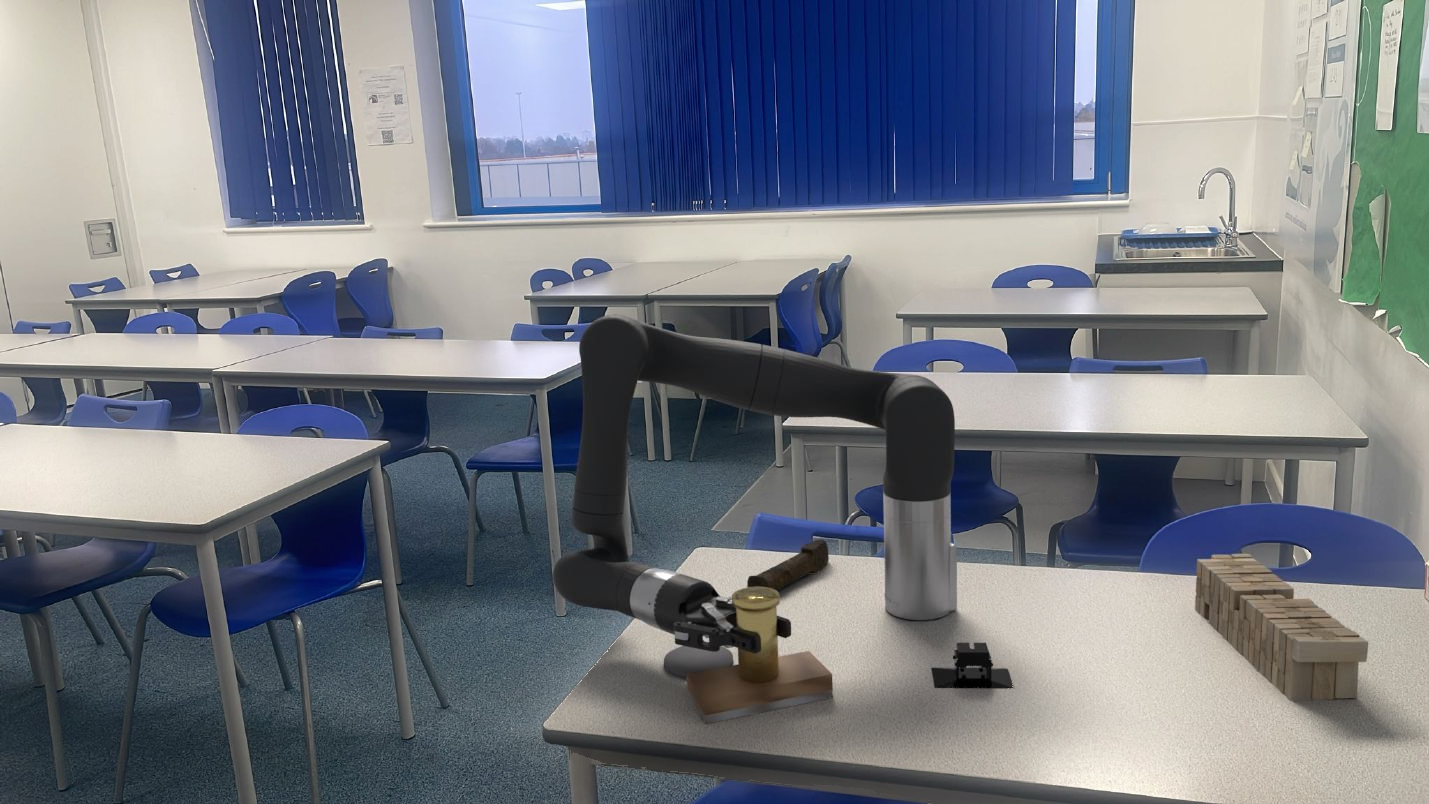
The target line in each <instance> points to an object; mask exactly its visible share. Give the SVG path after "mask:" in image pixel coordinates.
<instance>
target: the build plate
mask: <svg viewBox="0 0 1429 804" xmlns="http://www.w3.org/2000/svg"><path fill="white" fill-rule="evenodd" d="M955 647H956V649H953V655H952V660H953V667H935V666H934V667H931V669H930V670H931V675H932V681H933V687H934V689H988V690H989V689H1002V690H1004V689H1005V690H1007V689H1008V688H1009V689H1010V690H1011V688H1013V687H1012V686H1014V683H1012V682H1013V680H1012V676H1011V674H1010V671H1009V668H1007V667H1005V668H1004V667H1002V668H1000V667H994V663H993V662H992V656H991V654H990V650H989V647H988V643H987V642H973V648H971V645H970V642H966V641H965V642H963V641H962V642H960V641H959V642H958V641H957V642H956V646H955ZM1012 684H1013V685H1012ZM1014 687H1015V686H1014ZM1009 689H1008V690H1009Z"/></svg>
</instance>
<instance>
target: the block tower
mask: <svg viewBox="0 0 1429 804" xmlns="http://www.w3.org/2000/svg"><path fill="white" fill-rule="evenodd" d="M1294 594H1295V589H1294V587H1293V586H1291V585H1290V584H1288V583H1287V582H1286V581H1284V580H1283V579H1281V578H1280V577H1279V576H1278V575H1276V574H1275V573H1274V574H1273V571H1272V570H1271V569H1270V568H1268V567H1266V566H1265V565H1263V564H1262V563H1261V562H1260V561H1258V560H1256V559H1255V558H1254V557H1253V556H1252V555H1251V554H1250V553H1232V554H1211V556H1210V558H1202V559H1201V558H1197V560H1196V580H1195V597H1194V598H1195V601H1194V604H1195V605H1194V611H1195V612H1197V614H1198V615H1200V616H1201V617H1202V618H1204V619H1208V624H1209V625H1210V626H1211V627H1212V628H1213V630H1215V631H1216V632H1217V633H1218V634H1220V635H1221V636H1222V638H1223V639H1224V640H1226V641H1227V642H1228V644H1229V645H1231V647H1232V648H1233V649H1234V650H1235V651H1237V653H1238V654H1240V656H1242V657H1243V658H1244V659H1245V660H1246V661H1247V662H1248V663H1249V664H1250V665H1251V666H1252V667H1253V668H1254V669H1255V670H1256V671H1257V672H1259V674H1260V675H1262V677H1264V678H1265V679H1266V680H1267V681H1268V682H1269V683H1271V685H1272V686H1273V687H1275V689H1278V691H1279V692H1281V693H1282V694H1283V695H1284V696H1285V697H1286V698H1287V699H1288V700H1289V701H1310V700H1322V701H1324V700H1325V701H1326V700H1334V699H1356V698H1358V682H1359V681H1358V680H1359V678H1358V677H1359V663H1366V662H1367V660H1368V650H1369V641H1368V640H1367V639H1365V638H1364V637H1362V636H1361V635H1360V634H1359V633H1357V632H1356V631H1355V630H1352V629H1351V628H1349V627H1346V626H1345V625H1344V624H1342V623H1340V621H1339V620H1337V619H1336V618H1335V617H1333V616H1332V615H1331V614H1330V613H1328V612H1326V611H1327V610H1325V609H1324V608H1322V607H1319V605H1317V604H1315V602H1314V601H1313V600H1311V599H1310V598H1294ZM1360 636H1361V637H1360Z"/></svg>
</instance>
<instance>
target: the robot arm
mask: <svg viewBox="0 0 1429 804" xmlns="http://www.w3.org/2000/svg"><path fill="white" fill-rule="evenodd" d="M578 347H579V348H578V351H579V358H580V366H581V367H580V368H581V379H582V381H581V383H582V401H583V402H582V424H581V425H582V427H581V435H580V436H581V437H580V443H579V451H578V457H577V458H578V459H577V466H576V472H575V481H574V490H573V491H574V492H573V500H572V501H573V502H572V510H571V511H572V512H571V524H572V526H573V528H574V529H575V530H576V531H577V532H579V533H582V534H585V535H589V536H591V537H592V541H593V548H590V549H589V548H588V549H582V550H580V549H579V550H573V551H570V552H567V553H566V554H563V555H562V556H561V557H560V558H559V559H558V560H557V562H556V563H555V565H554V567H553V572H552V581H553V585H554V588H555V589H556V591H557V593H558V594H559V595H560V596H561V597H562V598H563V599H564V600H565V601H567V602H569V603H571V604H573V605H576V606H579V607H586V608H591V609H597V610H607V611H614V612H618V613H621V614H622V615H625V616H628V617H631V618H634V619H636V620H639V621H641V622H643V623H644V624H646V625H648V626H650V627H653V628H655V629H657V630H660V631H663V632H666V633H668V634H671V635H673V636H674V644H675V645H678V646H687V647H692V648H697V649H702V650H707V651H712V652H716V651H719V650H720V646H722V647H725V648H727V649H731V648H735V649H736V648H737V649H738V648H739V649H743V650H745V651H748V652H751V653H754V654H756V653H758V652H760V651H761V637H760V635H759V634H756V633H753V632H751V631H748V630H744V629H741V628H739V627H737V623H736V607H734V606H733V604H732V596H728V597H727V596H721V595H720V594H719V593H718V591H716V589H715V587H714V586H713V585H712V584H711V583H710V582H709V581H705V580H702V579H699V578H697V577H696V578H695V577H693V576H690V575H686V574H683V573H679V572H677V571H673V570H669V569H662V568H657V567H653V566H651V565H649V564H648V565H647V564H644V563H640V562H636V561H630V560H629V554H628V547H627V541H626V533H625V529H624V528H625V527H624V521H623V520H624V510H625V503H626V502H625V501H626V492H627V480H628V479H627V477H628V438H629V423H630V417H631V416H630V415H631V410H632V403H633V399H634V395H635V391H636V388H637V384H638V382H647V383H654V384H661V385H662V384H663V385H668V386H672V387H673V386H674V387H679V388H681V389H685V390H687V391H690V392H693V393H696V394H698V395H700V396H702V397H706V398H708V399H711V400H713V401H716V402H719V403H723V404H725V405H728V406H731V407H735V408H737V409H738V408H740V409H743V410H746V411H751V412H755V413H756V412H757V413H760V414H765V415H770V416H776V417H784V418H785V417H786V418H839V419H844V420H849V421H852V422H853V421H854V422H858V423H862V424H865V425H869V426H872V427H875V428H878V429H881V430H884V431H885V470H884V473H883V476H882V485H883V486H882V488H883V489H882V492H883V494H882V495H883V497H882V498H883V503H882V504H883V541H884V542H883V549H884V551H883V553H884V557H883V558H884V603H885V604H884V605H885V610H886V611H887V612H888V613H889V614H891V615H893V616H894V617H898V618H901V619H906V620H911V621H927V620H929V621H930V620H935V619H938V618H942V617H945V616H947V615H948V614H949V613H950V612H952V611H956V610H957V609H958V552H957V551H958V549H957V548H958V547H957V545H956V544H954V543H953V542H952V540H951V538H952V537H951V534H952V532H951V531H952V529H951V528H952V527H951V525H952V524H951V523H952V521H951V520H952V518H951V517H952V515H951V510H952V509H951V507H952V506H951V505H952V503H951V500H952V499H951V498H952V497H951V491H952V490H951V489H952V488H951V485H952V484H951V483H952V482H951V481H952V478H953V476H954V469H955V440H956V439H955V438H956V435H955V434H956V433H955V432H956V431H955V430H956V429H955V427H956V426H955V424H956V423H955V411H954V406H953V402H952V401H951V399H950V398H949V396H948V395H947V393H946V392H945V390H944V391H943V388H940V387H939V386H938V384H936V383H935V382H934V381H932V380H930V379H929V378H927V377H925V376H922V375H918V374H911V373H910V374H908V373H898V372H897V373H896V372H888V371H887V372H886V371H876V370H869V369H862V368H854V367H851V366H846V365H842V364H839V363H837V362H834V361H829V360H828V359H823V358H820V357H816V356H812V355H808V354H805V353H800V352H797V351H793V350H789V349H786V348H782V347H781V348H780V347H775V346H770V345H766V344H761V343H755V342H749V341H748V342H747V341H742V340H735V339H725V338H717V337H715V338H714V337H704V336H703V337H701V336H695V335H687V334H683V333H679V332H674V331H671V330H668V329H664V328H661V327H658V326H654V325H651V324H649V323H647V322H646V323H645V322H643V321H640V320H637V319H635V318H633V317H629V316H627V315H623V314H617V313H614V314H607V315H604V316H602V317H599V318H597V319H595V320H594V321H593V322H591V323H590V324H589V325H588V326H587V327H586V329H584V332H583V333H582V335H581V337H580V341H579V345H578ZM777 634H778V637H780V638H783V639H787V638H790V637H791V636H792V623H791V620H790V619H789V618H786V617H783V616H779V615H777ZM703 638H706V639H708V641H705V640H704V639H703Z"/></svg>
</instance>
